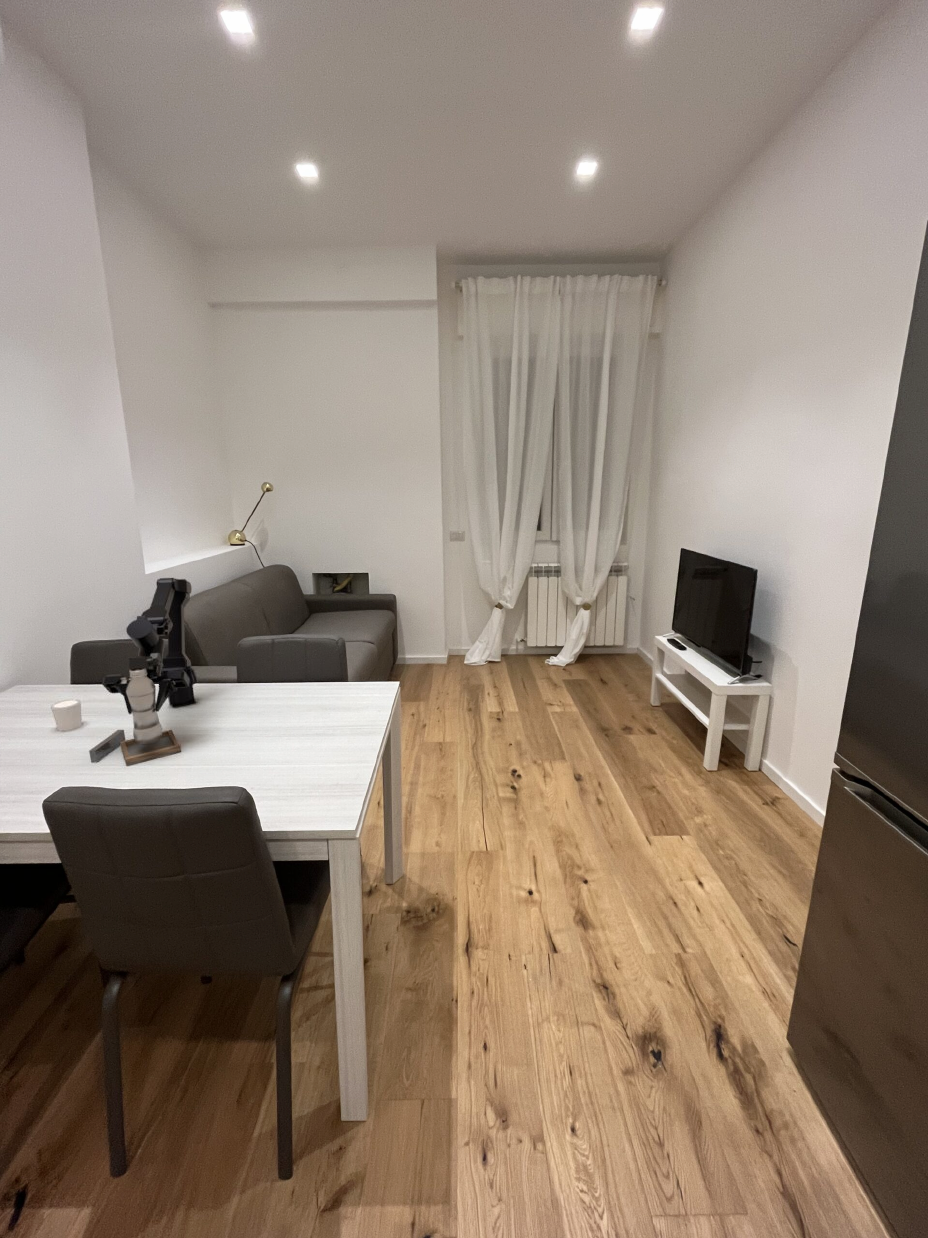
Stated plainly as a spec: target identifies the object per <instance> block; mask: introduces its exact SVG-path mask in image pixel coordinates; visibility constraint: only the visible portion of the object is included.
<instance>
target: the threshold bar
mask: <svg viewBox="0 0 928 1238" xmlns="http://www.w3.org/2000/svg"><path fill="white" fill-rule="evenodd" d="M121 741H126V735H125V730H124V729H117V730H116V731H114V732H113V733H112V734H111V735H109V736H108V737H106V738H104V739H103V740H102V741H101V742H99V743H98V744H97V745H95V746H94V747H92V748H91V749H90V750H88V752H89V758H90V762H91V763H97V762H99V761H101V760H102V759H103V758H104V757H106V756H107V755H108V754H109V753H111V752H112V751H113V750H115V749H116V748H117V747H119V746H121V745H120V742H121Z"/></svg>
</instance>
